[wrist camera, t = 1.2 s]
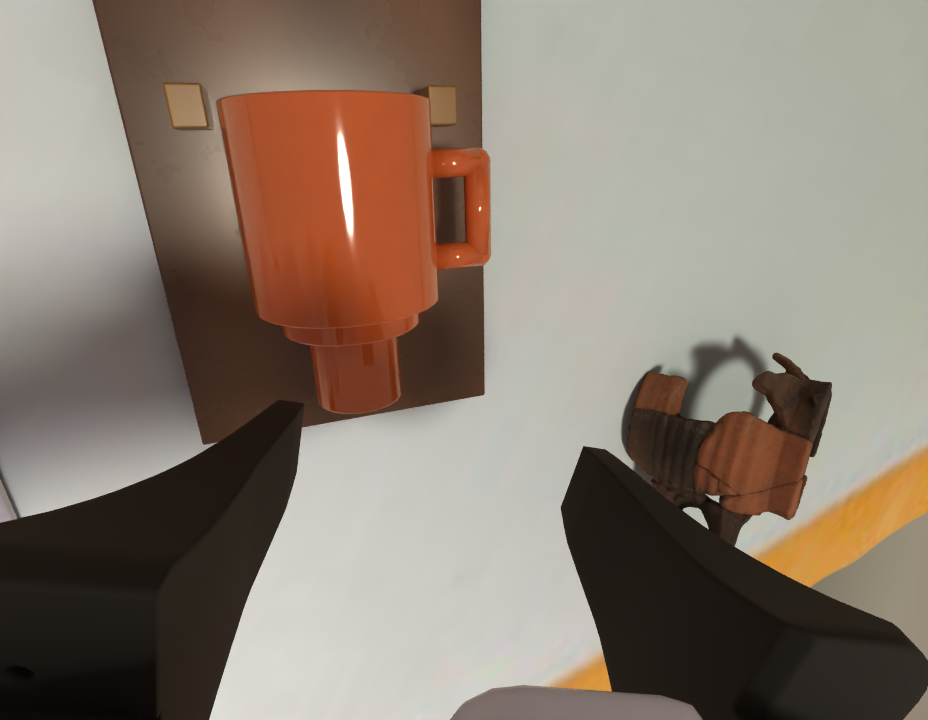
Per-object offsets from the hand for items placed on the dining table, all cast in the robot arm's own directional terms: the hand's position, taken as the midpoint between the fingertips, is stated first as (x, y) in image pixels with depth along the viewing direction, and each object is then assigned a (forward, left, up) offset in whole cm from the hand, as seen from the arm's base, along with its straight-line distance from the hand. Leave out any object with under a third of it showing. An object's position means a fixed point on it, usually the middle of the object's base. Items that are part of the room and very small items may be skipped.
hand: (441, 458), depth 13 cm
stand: (-1, +7, -10) cm, 12 cm away
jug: (0, +9, -6) cm, 11 cm away
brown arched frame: (+18, -8, -11) cm, 22 cm away
